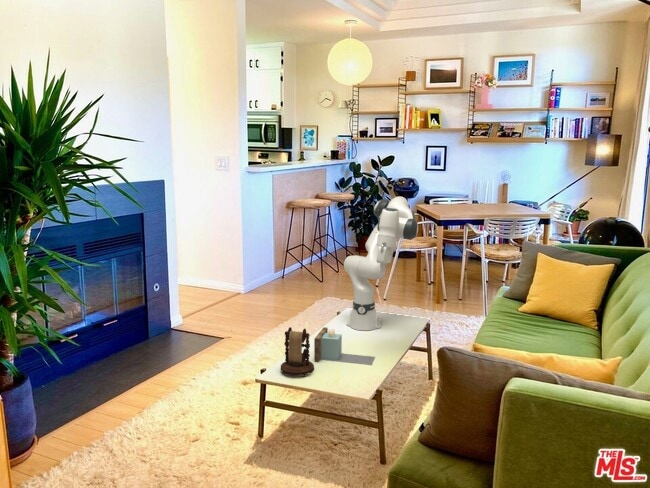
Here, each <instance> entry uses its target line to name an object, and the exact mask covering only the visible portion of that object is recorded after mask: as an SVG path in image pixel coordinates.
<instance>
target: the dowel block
mask: <svg viewBox="0 0 650 488" xmlns="http://www.w3.org/2000/svg"><path fill="white" fill-rule="evenodd" d="M342 336H343V335H342V333H341V334H339V333H336V330H335V329H334V328H330V329H329V328H328V333H325V334H324V335H323V336H322V338H321V359H331V360H339V358H340V356H341V355H342V349H343V344H342V342H343V341H342V339H343V338H342Z"/></svg>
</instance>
